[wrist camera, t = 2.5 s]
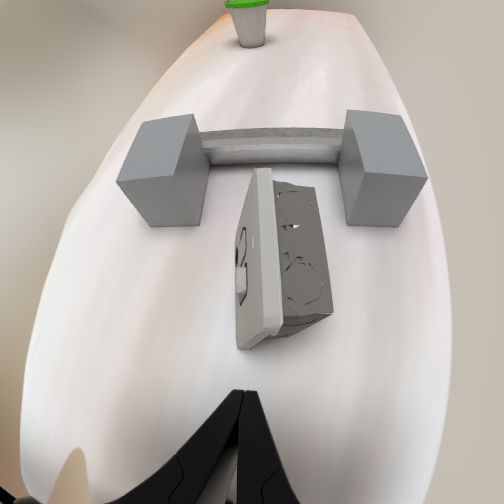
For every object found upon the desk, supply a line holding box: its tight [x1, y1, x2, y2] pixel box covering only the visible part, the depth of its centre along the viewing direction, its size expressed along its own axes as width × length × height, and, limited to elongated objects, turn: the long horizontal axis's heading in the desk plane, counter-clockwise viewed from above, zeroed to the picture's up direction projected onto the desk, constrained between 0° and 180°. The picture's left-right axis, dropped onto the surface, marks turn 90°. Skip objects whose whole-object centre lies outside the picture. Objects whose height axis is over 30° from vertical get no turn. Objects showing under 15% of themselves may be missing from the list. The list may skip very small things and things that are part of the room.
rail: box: [200, 128, 344, 165], centre depth 25 cm, size 2×24×4 cm, turn 87°
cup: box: [225, 0, 269, 48], centre depth 35 cm, size 8×8×15 cm
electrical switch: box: [235, 168, 334, 349], centre depth 17 cm, size 9×5×9 cm, turn 2°
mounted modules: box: [116, 110, 428, 227], centre depth 22 cm, size 7×23×7 cm, turn 87°
